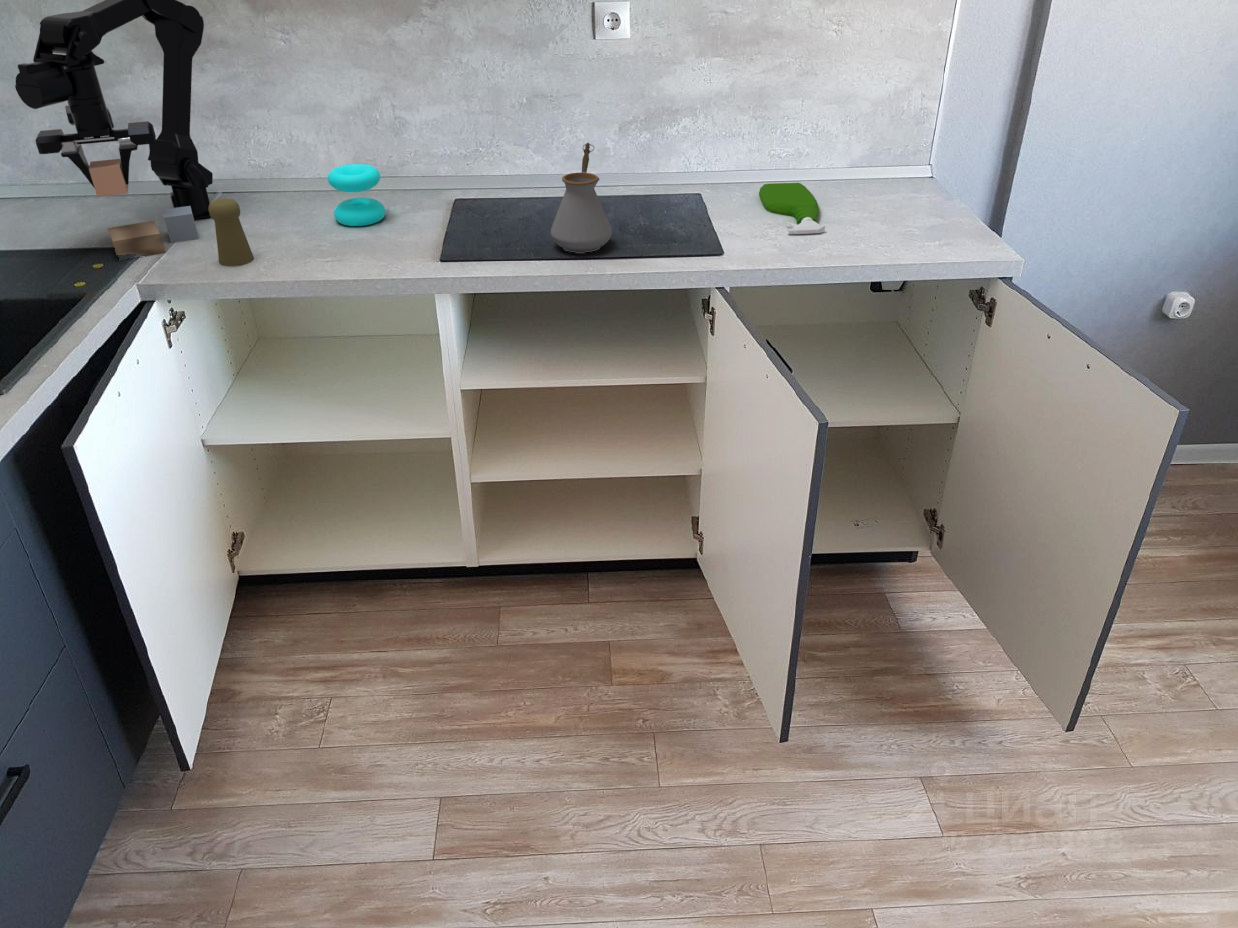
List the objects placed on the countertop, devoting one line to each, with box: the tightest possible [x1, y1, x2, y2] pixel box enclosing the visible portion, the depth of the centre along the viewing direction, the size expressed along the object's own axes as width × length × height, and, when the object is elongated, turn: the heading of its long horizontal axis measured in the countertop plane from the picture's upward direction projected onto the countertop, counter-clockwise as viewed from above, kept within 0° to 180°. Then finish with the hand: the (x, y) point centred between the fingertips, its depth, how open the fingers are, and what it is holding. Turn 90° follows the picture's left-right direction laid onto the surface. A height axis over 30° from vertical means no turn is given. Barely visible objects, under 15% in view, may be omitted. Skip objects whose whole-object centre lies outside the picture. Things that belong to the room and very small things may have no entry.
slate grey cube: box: [162, 206, 200, 244], centre depth 181 cm, size 5×5×5 cm
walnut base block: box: [107, 220, 166, 257], centre depth 175 cm, size 8×8×4 cm
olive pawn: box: [209, 198, 255, 267], centre depth 169 cm, size 6×6×11 cm
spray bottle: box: [758, 182, 826, 235], centre depth 190 cm, size 3×11×24 cm
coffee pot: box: [550, 142, 613, 252], centre depth 176 cm, size 21×12×15 cm, turn 176°
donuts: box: [327, 163, 386, 227], centre depth 186 cm, size 10×10×10 cm
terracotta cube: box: [89, 158, 129, 198], centre depth 172 cm, size 5×5×5 cm
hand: (111, 185), depth 172 cm, fingers closed on terracotta cube, 5 cm apart
